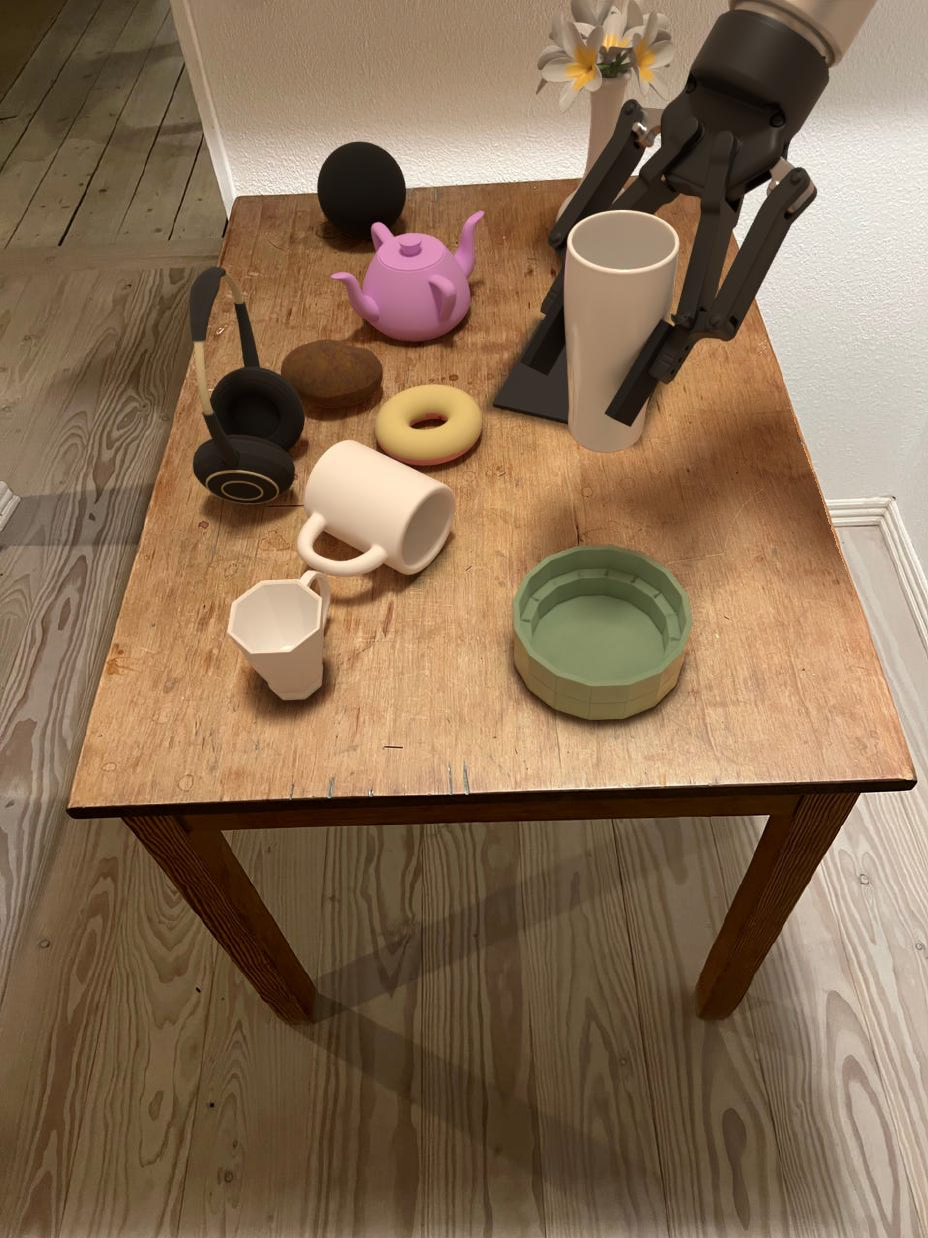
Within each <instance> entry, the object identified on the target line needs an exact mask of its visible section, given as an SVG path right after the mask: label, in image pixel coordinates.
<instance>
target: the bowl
mask: <svg viewBox="0 0 928 1238" xmlns="http://www.w3.org/2000/svg"><path fill="white" fill-rule="evenodd" d="M693 625H694V619H693V614H692V609H691V604H690V599H689V595H688V592H687V591H686V590H685V589H684V587H683V586H682V584H681V583H680V581H678V579H677V578H676V577H675V576H674V574H673V573H672V571H671V570H670V569H669V568H667V567H665V566H664V565H662V564H661V563H659V562H657V561H656V560H654V559H653V558H651V557H650V556H648V555H647V554H645V553H643V552H640V551H637V550H634V549H633V550H632V549H629V548H625V547H621V546H618V545H614V544H589V545H575V546H572V547H570V548H567V549H564V550H562V551H559V552H556V553H553V554H550V555H548V556H546V557H545V558H543V559H542V560H541V561H540V562H539V563H538V564H536V565H535V566H534V567H533V568H532V569H531V570H529V571H528V572H527V573H526V574H525V575H524V576H523V578H522V580H521V582H520V584H519V587H518V589H517V590H516V593H515V595H514V597H513V599H512V647H513V648H512V649H513V663H514V666H515V667H516V669H517V671H518V673H519V675H520V676H521V678H522V680H523V682H524V684H525V686H526V688H527V689H528V690H529V691H530V692H531V693H533V694H534V695H535V696H537V697H538V698H539V699H540V700H542V701H543V702H544V703H546V704H547V705H548V706H550V707H551V708H552V709H553V710H555V711H559V712H562V713H565V714H568V715H571V716H575V717H578V718H581V719H584V720H588V721H594V720H595V721H599V720H623V719H627V718H629V717H631V716H633V715H636V714H639V713H642V712H645V711H646V710H649V709H651V708H652V709H653V708H654V707H656V705H658V703H659V702H661V701H662V700H663V699H664V698H665V696H666V695H668V694H669V692H670V691H671V690H672V689H674V687H675V686H676V685H677V683H678V679H679V677H680V673H681V670H682V667H683V664H684V661H685V657H686V654H687V650H688V645H689V642H690V638H691V633H692V629H693Z"/></svg>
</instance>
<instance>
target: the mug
mask: <svg viewBox="0 0 928 1238" xmlns="http://www.w3.org/2000/svg"><path fill="white" fill-rule="evenodd" d="M456 507H457V502H456V497H455V494H454V491H453V489H452V487H450V486H448V485H447V484H445V483H443V482H442V481H439V480H437V479H436V478H435V479H434V478H433V477H431V476H429V475H426V474H425V473H422V472H421V471H419V470H416V469H414V468H412V467H410V466H409V465H406V464H405V463H403V462H401V461H398V460H396V459H394V458H393V457H391V456H387V455H385V454H384V453H381V452H380V451H377V450H375V449H373V448H371V447H369V446H367V445H364V444H363V443H362V442H359V441H357V440H353V439H345V440H341V441H339V442H337V443H335V444H333V445H332V446H330V447H329V448H328V449H327V450H326V451H325V452H324V453H323V454H322V455H321V456H320V458H319V459H318V460H317V462H316V463H315V464H314V466H313V468H312V470H311V472H310V474H309V476H308V478H307V483H306V485H305V488H304V493H303V510H304V512H305V516H306V518H307V520H306V521H305V523H304V524H303V526H302V527H301V529H300V531H299V533H298V536H297V539H296V549H297V554H298V556H299V557H300V558H301V560H302V561H303V562H304V563H305V564H306V565H307V566H309V567H310V568H311V569H314V571H317V572H320V573H323V574H324V575H328V576H331V577H332V576H333V577H339V578H352V577H353V578H354V577H357V576H358V577H359V576H363V575H365V574H368V573H370V572H372V571H374V570H375V569H377V568H379V567H381V566H382V565H383V564H384V565H386V566H388V567H389V568H391V569H393V570H395V571H397V572H399V573H401V574H403V575H407V576H410V575H415V574H418V573H420V572H421V571H422V570H424V569H425V568H427V567H429V565H430V564H431V563H432V562H433V560H434V559H436V557H437V555H438V554H439V553H440V552H441V550H442V548H443V547H444V545H445V543H446V541H447V540H448V537H449V535H450V533H451V531H452V527H453V524H454V520H455V515H456V510H457V509H456ZM322 532H326V533H327V534H329V535H330V536H333V537H334V538H337V539H338V540H339V541H341V542H344V543H345V544H347V545H348V546H351V547H353V548H355V549H357V550H358V551H359V552H362V553H363V554H361V555H359V556H357V557H355V558H352V559H348V560H332V559H330V558H326V557H323V556H321V555H320V554H318V553H316V551H314V548H313V547H314V543H315V542H316V539H317V538H318V537H319V536H320V534H321V533H322Z"/></svg>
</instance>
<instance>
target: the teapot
mask: <svg viewBox="0 0 928 1238" xmlns="http://www.w3.org/2000/svg"><path fill="white" fill-rule="evenodd" d="M484 215H485V211H484V210H478V211H477V212H475V213H473V214H472V215H470V217H469V218H467V220H465V222H464V224H463V226H462V229H461V235H460V242H459V246H458V248H457V250H456V251H455V253H454V254H453V253H452V252H451V251H450V249H449V248H448V247H447V246H446V245H445V244H444V243H443V242H442V241H441V240H440V239H438V238H436V237H434V236H432V235H430V234H425V233H421V232H420V233H419V232H407V233H404V234H400V235H396V236H394V234H393V233H392V232H391V231H390V229H388V228H387V227H386V226H385V225H384V224H382V223H379V222H377V223H374V224H373V225H372V227H371V234H372V238H371V239H372V243H373V247H374V250H375V254H374V256H373V258H372V260H371V261H370V264H369V266H368V267H367V270H366V272H365V274H364V278H363V281H362V288H361V286H360V284H359V282H358V280H357V277H355V275H353V274H352V273H350V272H347V271H341V272H335V273H332V274H331V275H330V278H331V279H333V280H336V281H339V282H341V283H342V284H343V285H344V286H345V289H346V292H347V297H348V301H349V304H350V306H351V308H352V310H353V311H354V312H355V313H356V314H357V316H359V317H360V318H362V319H364V320H365V321H368V323H369V324H370V325H371V326H373V327H374V328H375V329H376V330H377V331H379V332H380V333H381V334H383V335H384V336H387V337H388V338H392V339H394V340H397V341H401V342H402V341H403V342H411V343H412V342H413V343H415V342H416V343H417V342H425V341H430V340H434V339H437V338H440V337H442V336H443V335H446V334H447V333H449V332H450V331H452V330H453V329H454V328H455V327H457V325H458V324H460V322H461V321H462V320H463V319H464V318H465V316H466V315H467V313H468V311H469V309H470V306H471V301H472V300H471V299H472V298H471V297H472V296H471V290H470V286H469V282H468V280H469V279H470V277H471V275H472V274H473V271H474V269H475V265H476V245H475V234H476V230H477V226H478V224H479V223H480V221H481V220H482V218H483V216H484Z"/></svg>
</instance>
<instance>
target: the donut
mask: <svg viewBox="0 0 928 1238" xmlns="http://www.w3.org/2000/svg"><path fill="white" fill-rule="evenodd" d="M427 420H441V421H445V423H444V424H442V425H440V426H437V427H434V428H429V429H418V428H413V427H412V426H414V425H415V424H417V423H419V422H422V421H427ZM483 421H484V420H483V414H482V411H481V408H480V406H479V404H478V403H477V401H476V400H475V399H474V398H473V397H472V396H471V395H470V394H468V393H467V392H465V390H462V389H459V388H457V387H454V386H450V385H447V384H435V383H434V384H433V383H432V384H422V385H416V386H412V387H409V388H407V389H404V390H402V391H399V392H398V393H396V394H394V395H393V396H391V397H390V398H389V399H387V400H386V401H385V403H384V404H383V405H382V406H381V408H380V409H379V411H378V412H377V415H376V418H375V420H374V434H375V439H376V441H377V444H378V445H379V447H380V448H381V449H382V450H383V451H384V452H385V454H387V455H388V456H389V457H390V458H392V459H394V460H396V461H398V462H400V463H403V464H408V465H412V466H413V465H414V466H435V465H440V464H444V463H447V462H451V461H453V460H455V459H458V458H459V457H461V456H462V455H464V454H465V453H467V452H468V451H469V450H471V448H473V446H474V445H475V444H476V443H477V441H478V439H479V438H480V435H481V433H482V430H483V423H484V422H483Z"/></svg>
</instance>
